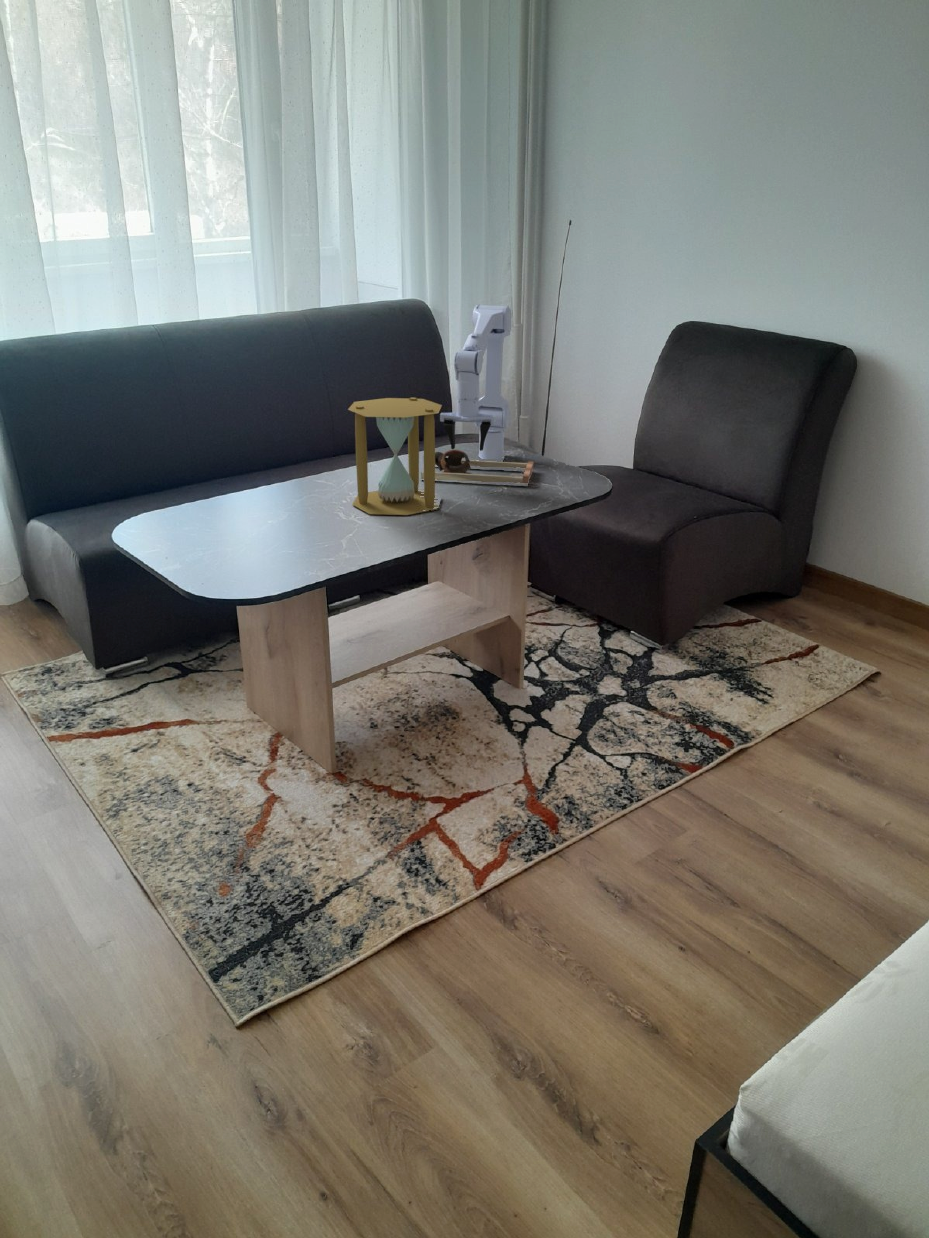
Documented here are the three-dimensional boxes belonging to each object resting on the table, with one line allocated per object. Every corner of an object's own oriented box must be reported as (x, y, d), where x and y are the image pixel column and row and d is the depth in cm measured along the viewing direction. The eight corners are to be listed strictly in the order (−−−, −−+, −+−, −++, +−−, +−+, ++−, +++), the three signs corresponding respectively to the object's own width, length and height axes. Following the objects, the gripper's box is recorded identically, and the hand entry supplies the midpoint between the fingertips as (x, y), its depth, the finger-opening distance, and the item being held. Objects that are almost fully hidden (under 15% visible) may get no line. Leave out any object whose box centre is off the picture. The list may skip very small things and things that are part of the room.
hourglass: (432, 487, 253) (432, 393, 242) (453, 513, 233) (453, 412, 223) (345, 493, 247) (341, 397, 237) (358, 520, 227) (354, 417, 217)
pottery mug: (476, 474, 267) (477, 453, 260) (460, 495, 262) (460, 475, 255) (439, 458, 270) (439, 437, 263) (422, 479, 265) (422, 459, 258)
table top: (431, 466, 271) (431, 456, 270) (533, 472, 267) (533, 461, 266) (420, 481, 258) (420, 470, 256) (527, 487, 254) (528, 476, 252)
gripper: (438, 400, 243) (438, 451, 249) (493, 402, 241) (492, 454, 247) (442, 394, 249) (442, 444, 255) (496, 396, 247) (495, 447, 253)
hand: (467, 449), depth 251 cm, fingers open, 7 cm apart
